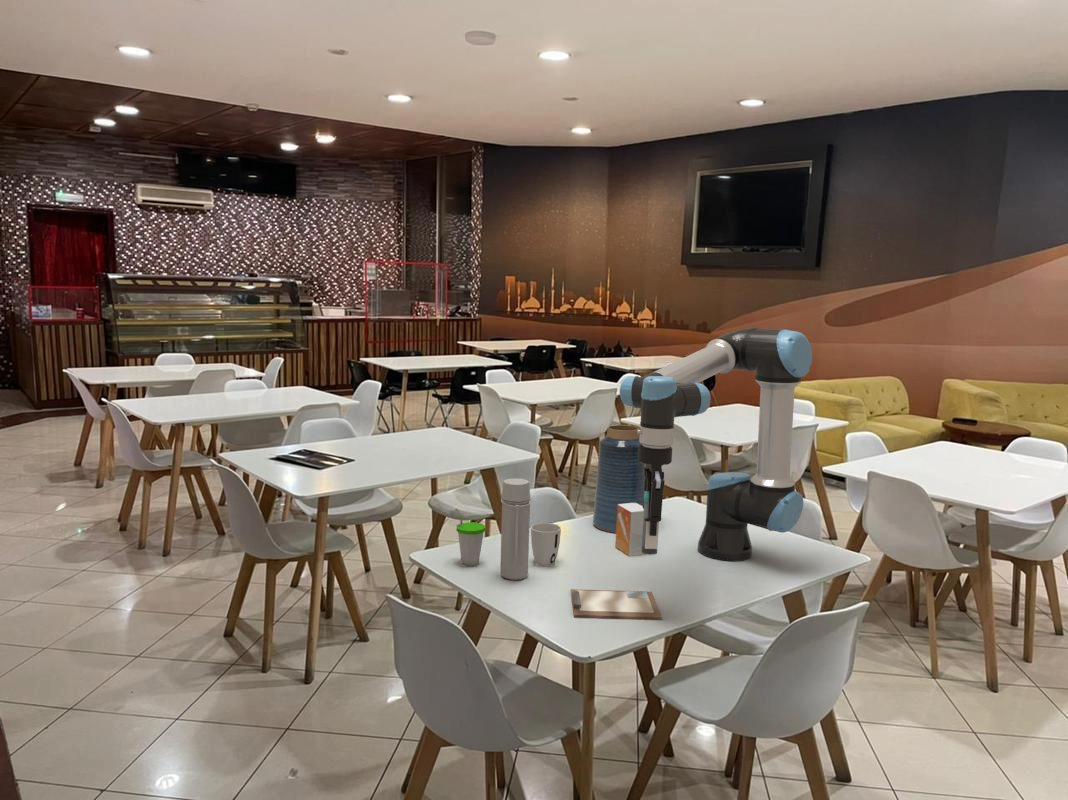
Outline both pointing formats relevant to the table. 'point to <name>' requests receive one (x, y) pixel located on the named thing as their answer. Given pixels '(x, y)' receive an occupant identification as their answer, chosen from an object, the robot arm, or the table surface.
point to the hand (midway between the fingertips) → (649, 545)
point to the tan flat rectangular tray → (614, 604)
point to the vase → (617, 475)
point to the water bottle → (515, 528)
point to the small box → (629, 528)
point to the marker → (645, 515)
